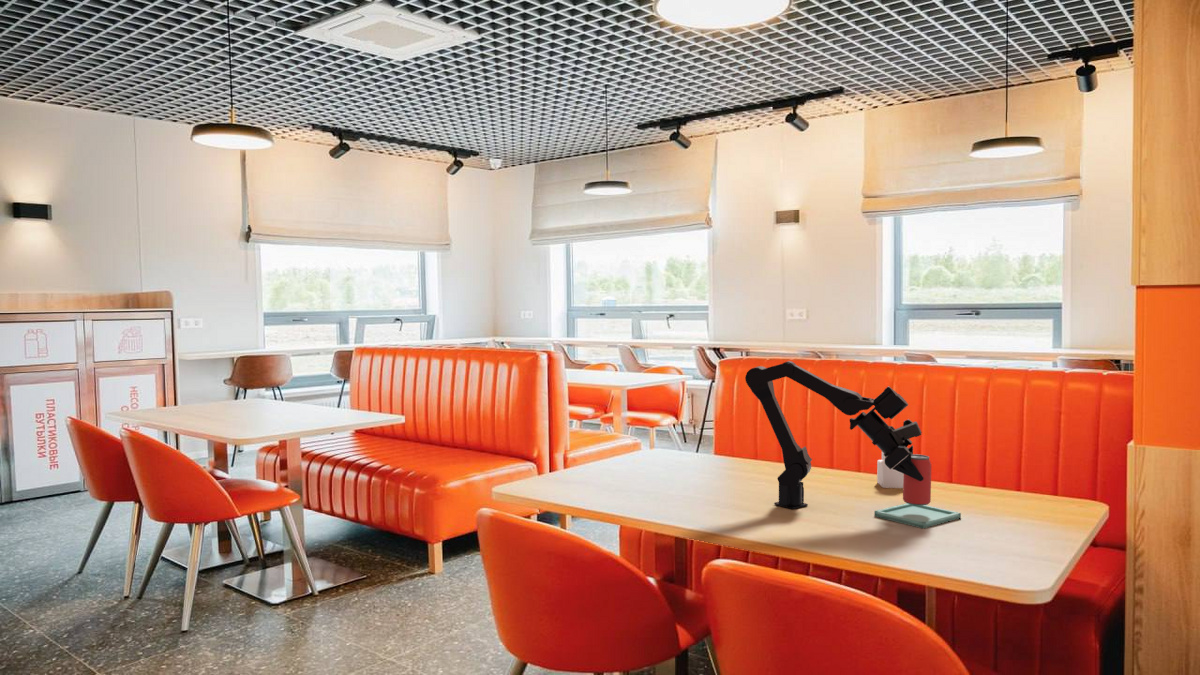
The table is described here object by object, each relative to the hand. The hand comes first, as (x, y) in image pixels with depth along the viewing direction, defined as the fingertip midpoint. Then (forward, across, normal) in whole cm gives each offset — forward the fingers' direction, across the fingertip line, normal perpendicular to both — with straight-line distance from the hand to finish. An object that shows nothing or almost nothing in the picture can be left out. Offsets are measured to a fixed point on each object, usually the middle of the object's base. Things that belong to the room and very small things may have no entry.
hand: (922, 477), depth 208 cm
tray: (+7, 0, +8) cm, 10 cm away
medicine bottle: (+1, +36, +14) cm, 39 cm away
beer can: (+4, 0, +6) cm, 7 cm away
